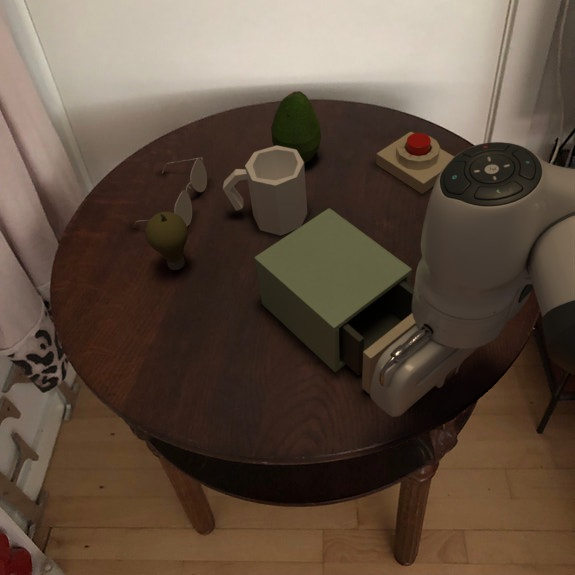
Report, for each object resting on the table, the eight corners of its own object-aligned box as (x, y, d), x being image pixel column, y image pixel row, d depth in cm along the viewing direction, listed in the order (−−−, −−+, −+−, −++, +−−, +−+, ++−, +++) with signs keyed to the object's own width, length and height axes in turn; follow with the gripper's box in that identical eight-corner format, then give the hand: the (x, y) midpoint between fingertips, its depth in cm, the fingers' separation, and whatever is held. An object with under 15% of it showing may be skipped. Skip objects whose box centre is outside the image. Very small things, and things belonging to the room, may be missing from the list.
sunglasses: (184, 236, 94) (172, 212, 90) (135, 236, 96) (121, 213, 93) (211, 175, 102) (201, 151, 98) (165, 177, 105) (154, 153, 101)
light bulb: (205, 264, 90) (191, 215, 82) (175, 288, 87) (159, 239, 80) (179, 246, 92) (164, 196, 85) (150, 268, 90) (132, 219, 82)
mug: (307, 194, 97) (303, 143, 90) (307, 234, 92) (304, 184, 84) (231, 198, 98) (221, 148, 91) (227, 238, 93) (216, 188, 85)
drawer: (460, 360, 76) (470, 323, 70) (394, 418, 72) (399, 383, 65) (358, 279, 85) (359, 239, 79) (294, 325, 81) (290, 288, 75)
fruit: (323, 143, 105) (321, 80, 96) (320, 174, 100) (317, 111, 91) (277, 143, 106) (270, 80, 97) (271, 174, 101) (264, 111, 92)
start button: (434, 149, 97) (435, 140, 95) (418, 159, 95) (419, 150, 94) (417, 138, 98) (418, 129, 97) (401, 149, 97) (402, 140, 96)
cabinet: (406, 316, 81) (412, 268, 74) (335, 373, 77) (334, 328, 69) (330, 256, 89) (329, 207, 82) (262, 304, 84) (253, 257, 77)
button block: (457, 170, 98) (460, 149, 95) (422, 194, 96) (424, 174, 92) (410, 141, 104) (412, 122, 101) (375, 164, 101) (376, 144, 98)
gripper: (408, 387, 53) (397, 456, 64) (555, 262, 60) (523, 342, 71) (356, 342, 56) (354, 414, 67) (501, 228, 64) (478, 310, 74)
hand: (442, 376), depth 69 cm, fingers closed
